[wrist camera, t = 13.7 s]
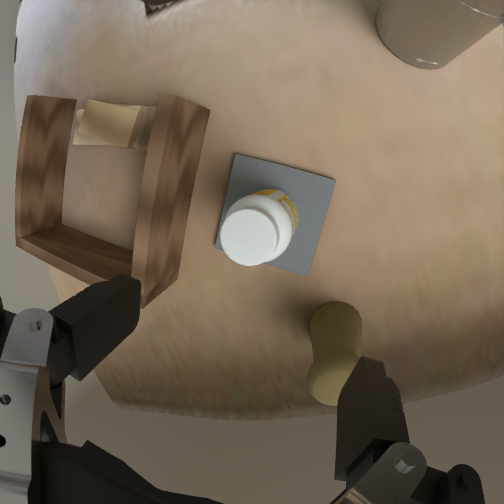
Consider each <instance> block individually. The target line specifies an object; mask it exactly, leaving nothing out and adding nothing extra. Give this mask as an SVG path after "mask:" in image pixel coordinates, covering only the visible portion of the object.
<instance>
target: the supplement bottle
mask: <svg viewBox="0 0 504 504" xmlns="http://www.w3.org/2000/svg"><path fill="white" fill-rule="evenodd" d="M298 219H299V214H298V209H297V206H296V204H295V202H294V201H293V199H292V198H291V197H290V196H289V195H288V194H286V193H285V192H283V191H280V190H277V189H265V190H261V191H259V192H256V193H253V194H251V195H248V196H245V197H243V198H241V199H239V200H238V201H236V202H235V203H234V204H233V205H232V206H231V207H230V209H229V210H228V212H227V214H226V217H225V220H224V223H223V225H222V227H221V232H220V240H221V245H222V247H223V249H224V251H225V253H226V254H227V255H228V256H229V257H230V258H231V259H232V260H233V261H235V262H237V263H239V264H242V265H246V266H254V265H258V264H261V263H263V262H268V261H271V260H273V259H275V258H277V257H278V256H280V255H281V254H282V253H283V252H284V251H285V250H286V248H287V247H288V245H289V243H290V240H291V238H292V236H293V234H294V232H295V229H296V227H297V224H298Z"/></svg>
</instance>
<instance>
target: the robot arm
mask: <svg viewBox="0 0 504 504" xmlns="http://www.w3.org/2000/svg"><path fill="white" fill-rule="evenodd" d="M503 22H504V0H381V3H380V6H379V9H378V12H377V16H376V27H377V30H378V33H379V36H380V37H381V39H382V41H383V43H384V44H385V45H386V46H387V47H388V49H389V50H390V51H391V52H392V53H394V54H395V55H396V56H397V57H399V58H400V59H401V60H403V61H404V62H406V63H408V64H410V65H412V66H416V67H419V68H423V69H438V68H441V67H444V66H445V65H446V64H448V63H449V62H450V61H452V60H453V59H454V58H456V57H457V56H458V55H460V54H461V53H463V52H464V51H465V50H467V49H468V48H469V47H471V46H472V45H473V44H475V43H476V42H477V41H479V40H480V39H481V38H483V37H484V36H485V35H487V34H488V33H489V32H491V31H492V30H493V29H495V28H496V27H498V26H499V25H500V24H502V23H503ZM140 300H141V282H140V280H138V279H135V278H133V277H130V276H128V275H126V274H123V273H120V274H119V275H117V276H115V277H114V278H112V279H110V280H109V281H102V282H98V283H94V284H92V285H90V286H89V287H87V288H85V289H84V291H81V292H79V293H77V294H76V296H72V297H71V298H69V299H68V300H66V301H64V302H63V303H61V304H60V305H58V306H57V307H55V308H53V309H52V310H50V311H49V312H47V311H45V310H43V309H38V308H30V309H26V310H23V311H21V312H19V313H18V314H15V313H12V312H9V311H7V310H4V309H3V304H2V299H1V297H0V504H223V503H220V502H217V501H214V500H211V499H208V498H202V497H195V496H189V495H183V494H178V493H172V492H168V491H163V490H160V489H158V488H156V487H154V486H153V485H152V484H150V483H149V482H148V481H146V480H145V479H144V478H143V477H141V476H140V475H139V474H137V473H136V472H135V471H134V470H133V469H132V468H130V467H129V466H128V465H127V464H126V463H125V462H123V461H122V460H120V459H118V458H117V457H115V456H113V455H111V454H110V453H108V452H106V451H105V450H103V449H101V448H100V447H98V446H96V445H95V444H93V443H92V442H90V441H88V440H87V441H86V442H85V443H84V445H83V446H82V447H79V446H75V445H72V444H68V442H67V437H66V433H65V418H64V417H65V380H64V379H65V378H66V377H67V376H68V375H71V376H72V377H74V378H75V379H77V380H78V381H81V380H82V379H83V378H84V377H86V375H88V374H89V373H90V372H91V371H92V370H93V369H94V368H95V367H96V366H97V365H98V364H99V363H100V362H101V361H102V360H103V359H104V358H105V357H106V356H107V355H108V354H109V353H111V352H112V351H113V350H114V349H115V348H116V347H117V346H118V345H119V344H120V343H121V342H122V341H123V340H124V339H125V338H126V337H127V336H128V335H130V334H131V333H132V332H133V331H134V329H135V328H136V326H137V324H138V321H139V315H140ZM334 479H335V480H342V481H346V489H344V490H343V491H342V492H341V493H340V494H339V495H338V496H337V497H335V498H334V499H333V500H332V501H331V502H330V503H329V504H485V501H484V495H483V489H482V484H481V480H480V477H479V475H478V473H477V472H476V471H475V470H474V469H473V468H472V467H470V466H468V465H465V464H458V465H456V466H454V467H453V468H452V469H451V470H450V471H448V472H447V473H446V472H443V471H440V470H436V469H434V468H431V467H428V466H427V461H426V458H425V456H424V455H423V453H422V452H421V451H420V450H419V449H418V448H417V447H415V446H414V445H412V444H410V441H409V436H408V431H407V425H406V420H405V415H404V412H403V406H402V403H401V397H400V392H399V389H398V387H397V386H396V384H395V383H394V381H393V380H392V378H388V377H386V372H385V368H384V364H383V362H382V361H379V360H375V359H371V358H368V357H364V356H362V357H361V358H360V359H359V360H358V362H357V364H356V365H355V367H354V369H353V371H352V372H351V374H350V376H349V378H348V379H347V381H346V383H345V384H344V386H343V388H342V390H341V392H340V395H339V398H338V403H337V441H336V462H335V478H334Z"/></svg>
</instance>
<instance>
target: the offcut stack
mask: <svg viewBox="0 0 504 504" xmlns="http://www.w3.org/2000/svg"><path fill="white" fill-rule="evenodd" d="M155 112H156V107H154V106H143V105H129V104H111V103H106V102H102V101H97V100H92V99H87V102H86V103H85V105H84V109H80V110H77V114H76V121H75V129H74V138H73V145H112V146H119V147H124V148H129V149H137V150H142V151H147V149H148V144H149V139H150V134H151V130H152V125H153V120H154V116H155Z"/></svg>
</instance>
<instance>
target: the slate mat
mask: <svg viewBox="0 0 504 504" xmlns="http://www.w3.org/2000/svg"><path fill="white" fill-rule="evenodd" d="M335 182H336V180H333V179H330V178H327V177H323V176H320V175H317V174H313V173H310V172H306V171H302V170H299V169H295V168H292V167H288V166H284V165H280V164H276V163H272V162H268V161H264V160H260V159H256V158H252V157H248V156H244V155H239V154H235V158H234V163H233V167H232V171H231V176H230V180H229V185H228V189H227V193H226V198H225V203H224V207H223V212H222V216H221V221H220V226H219V230H218V235H217V240H216V245H215V248H217V249H220V250H223V251H224V249H223V247H222V245H221V240H220V232H221V227H222V225H223V223H224V220H225V217H226V214H227V212H228V210H229V209H230V207H231V206H232V205H233V204H234V203H235V202H236V201H238V200H239V199H241V198H243V197H245V196H248V195H251V194H253V193H256V192H259V191H261V190H265V189H277V190H280V191H283V192H285V193H286V194H288V195H289V196H290V197H291V198H292V199H293V201H294V202H295V204H296V206H297V209H298V214H299V219H298V224H297V227H296V229H295V232H294V234H293V236H292V238H291V240H290V243H289V245H288V247H287V248H286V250H285V251H284V252H283V253H282V254H281V255H280V256H278V257H277V258H275V259H273V260H271V261H268V262H263V263H265V264H269V265H272V266H275V267H278V268H282V269H285V270H288V271H292V272H295V273H298V274H301V275H305V276H307V274H308V271H309V268H310V265H311V262H312V259H313V256H314V253H315V249H316V246H317V243H318V240H319V237H320V233H321V230H322V227H323V223H324V220H325V217H326V213H327V210H328V206H329V203H330V200H331V196H332V193H333V189H334V185H335Z"/></svg>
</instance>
